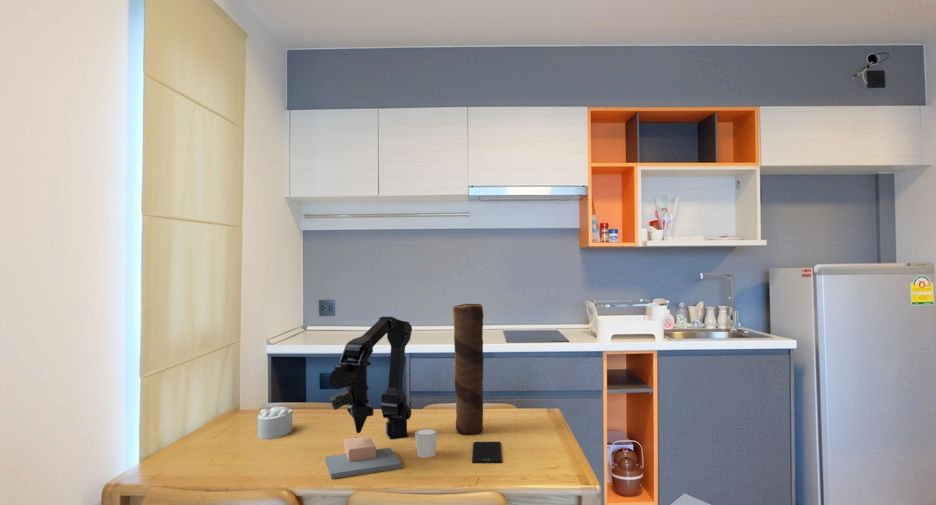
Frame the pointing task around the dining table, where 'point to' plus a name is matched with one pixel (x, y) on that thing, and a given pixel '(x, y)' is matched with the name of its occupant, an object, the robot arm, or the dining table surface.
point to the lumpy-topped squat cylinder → (274, 423)
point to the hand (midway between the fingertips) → (358, 432)
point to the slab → (359, 448)
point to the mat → (362, 464)
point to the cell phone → (486, 452)
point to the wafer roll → (468, 367)
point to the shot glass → (426, 442)
